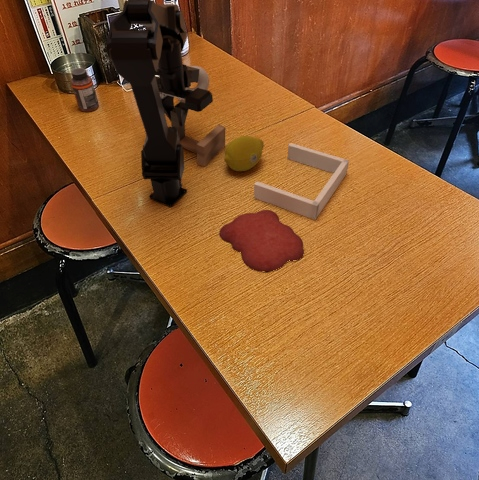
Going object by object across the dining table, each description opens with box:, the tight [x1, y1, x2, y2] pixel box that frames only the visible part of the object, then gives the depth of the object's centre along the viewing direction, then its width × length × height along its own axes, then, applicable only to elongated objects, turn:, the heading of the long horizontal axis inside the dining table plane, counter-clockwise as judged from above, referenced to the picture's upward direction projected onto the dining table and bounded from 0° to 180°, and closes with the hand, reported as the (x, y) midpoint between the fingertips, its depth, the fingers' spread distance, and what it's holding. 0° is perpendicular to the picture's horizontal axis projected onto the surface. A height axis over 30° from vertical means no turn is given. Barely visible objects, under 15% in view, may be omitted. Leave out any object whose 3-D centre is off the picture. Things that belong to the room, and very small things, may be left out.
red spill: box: [218, 209, 305, 272], centre depth 94 cm, size 18×14×2 cm
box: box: [253, 142, 350, 221], centre depth 105 cm, size 18×15×4 cm
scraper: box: [170, 107, 226, 167], centre depth 114 cm, size 10×12×10 cm
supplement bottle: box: [70, 67, 100, 113], centre depth 130 cm, size 6×6×11 cm
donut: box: [185, 65, 210, 91], centre depth 133 cm, size 10×4×10 cm, turn 117°
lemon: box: [224, 135, 265, 172], centre depth 109 cm, size 11×8×8 cm
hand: (178, 123), depth 115 cm, fingers closed on scraper, 2 cm apart
